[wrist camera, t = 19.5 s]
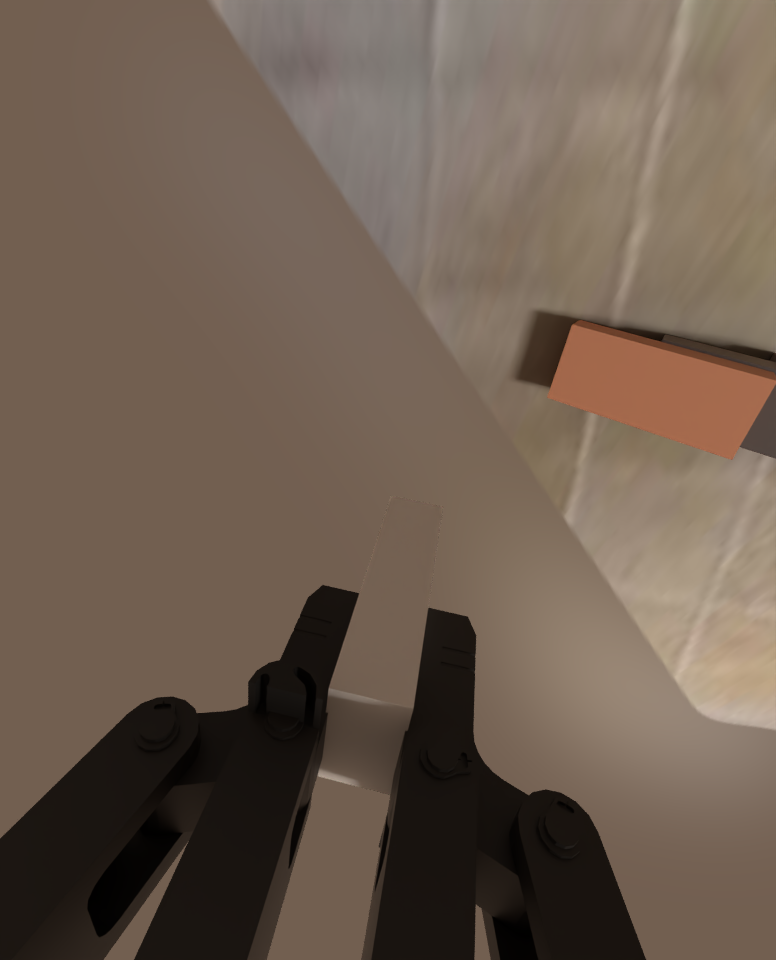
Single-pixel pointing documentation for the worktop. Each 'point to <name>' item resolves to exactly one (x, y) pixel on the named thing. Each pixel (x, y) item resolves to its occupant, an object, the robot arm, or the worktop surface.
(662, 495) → the worktop surface
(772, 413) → the domino
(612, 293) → the worktop surface
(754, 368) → the domino
